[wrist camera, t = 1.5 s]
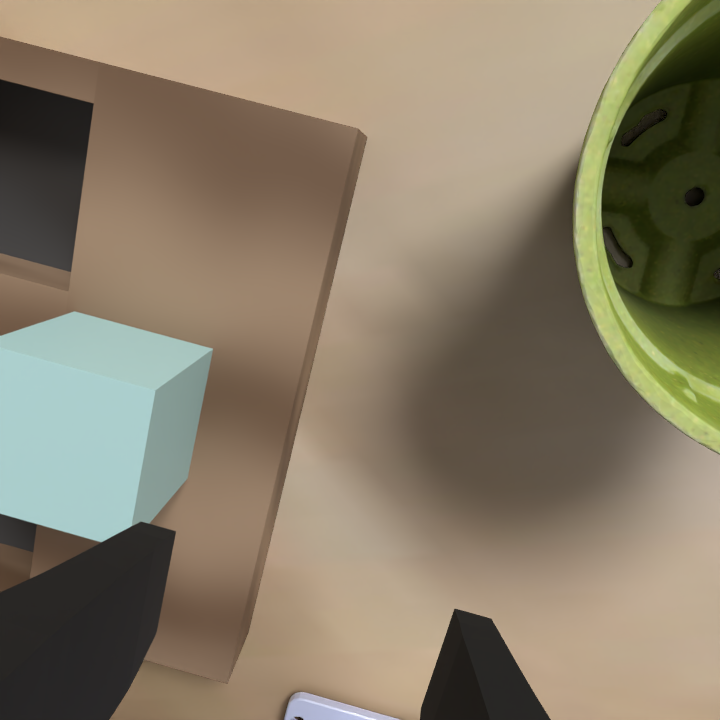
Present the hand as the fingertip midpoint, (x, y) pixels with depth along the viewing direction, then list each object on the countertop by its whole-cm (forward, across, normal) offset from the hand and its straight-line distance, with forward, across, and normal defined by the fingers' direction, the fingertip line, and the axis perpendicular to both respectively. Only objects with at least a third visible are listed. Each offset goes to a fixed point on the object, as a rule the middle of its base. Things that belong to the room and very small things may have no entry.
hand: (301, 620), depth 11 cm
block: (+8, +6, 0) cm, 10 cm away
